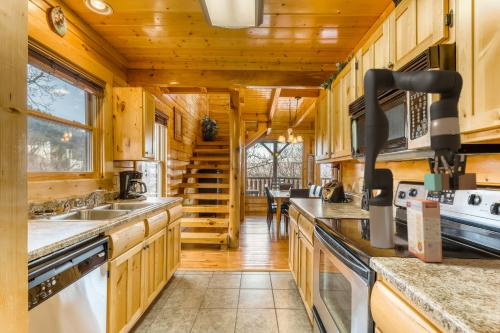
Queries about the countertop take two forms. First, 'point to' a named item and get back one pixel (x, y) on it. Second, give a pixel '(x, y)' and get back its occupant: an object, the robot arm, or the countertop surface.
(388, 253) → the countertop surface
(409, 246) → the cracker box
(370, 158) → the robot arm
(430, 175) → the walnut block
